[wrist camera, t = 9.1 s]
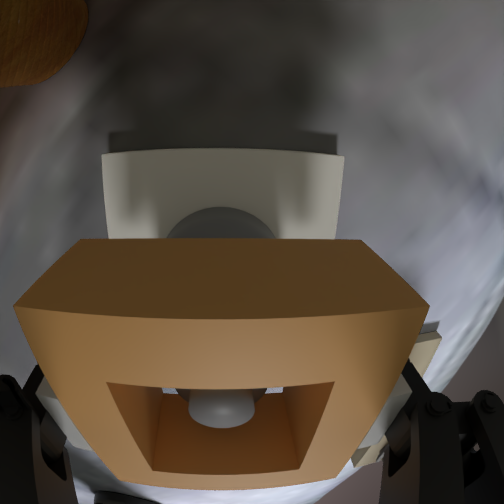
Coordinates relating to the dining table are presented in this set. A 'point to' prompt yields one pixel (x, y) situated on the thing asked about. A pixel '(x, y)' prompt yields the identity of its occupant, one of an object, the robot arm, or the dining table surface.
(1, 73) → the disposable coffee cup
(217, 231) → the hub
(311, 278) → the ring
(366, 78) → the dining table surface
